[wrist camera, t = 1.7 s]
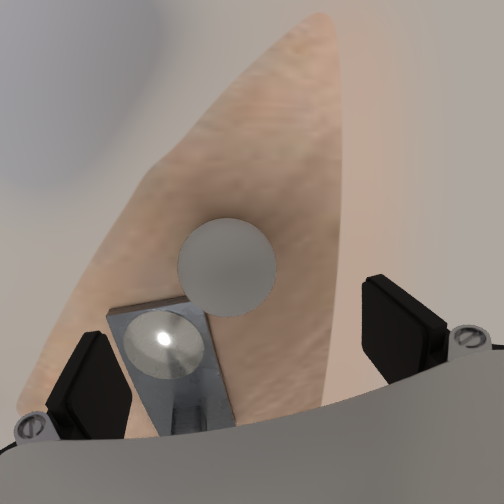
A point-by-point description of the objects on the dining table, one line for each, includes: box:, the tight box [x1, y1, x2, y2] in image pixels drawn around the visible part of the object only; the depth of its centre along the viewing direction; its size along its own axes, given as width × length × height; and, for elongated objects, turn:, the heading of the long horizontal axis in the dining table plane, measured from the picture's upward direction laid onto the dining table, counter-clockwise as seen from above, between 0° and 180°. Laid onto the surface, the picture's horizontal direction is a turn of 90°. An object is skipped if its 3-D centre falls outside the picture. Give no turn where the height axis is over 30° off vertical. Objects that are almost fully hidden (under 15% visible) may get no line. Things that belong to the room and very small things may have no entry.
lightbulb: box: [177, 218, 277, 317], centre depth 22 cm, size 6×6×11 cm
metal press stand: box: [106, 296, 236, 437], centre depth 25 cm, size 17×9×12 cm, turn 9°
